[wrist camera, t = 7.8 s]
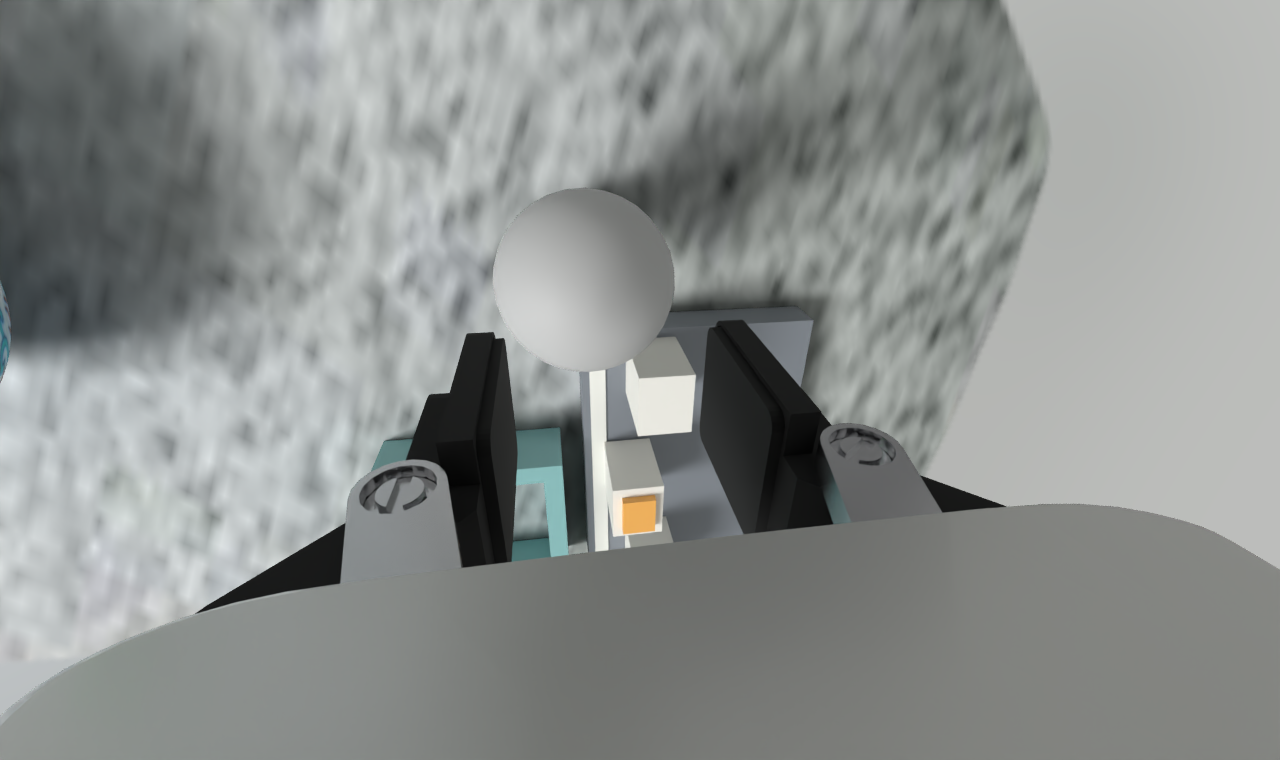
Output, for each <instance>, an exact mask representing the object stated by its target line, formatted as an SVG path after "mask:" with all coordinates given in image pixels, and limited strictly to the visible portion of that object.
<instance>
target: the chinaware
mask: <svg viewBox="0 0 1280 760" xmlns="http://www.w3.org/2000/svg"><path fill="white" fill-rule="evenodd" d="M10 343H11V322H10V313H9V307H8V303H7V299H6V295H5V292H4V289H3V286H2V283H1V281H0V383H1V380H2V378H3V375H4V372H5V369H6V366H7V362H8V357H9V352H10Z"/></svg>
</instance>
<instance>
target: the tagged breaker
mask: <svg viewBox="0 0 1280 760" xmlns="http://www.w3.org/2000/svg"><path fill="white" fill-rule="evenodd" d="M604 467H605V489H606V495H607V501H608V507H609V514H610V520H611V526H612V532H613V537H616V536H625V535H634V534H643V533H652V532H661V531H662V517H663V497H664V484H663V481H662V478H661V474H660V471H659V468H658V465H657V461H656V458H655V455H654V452H653V448H652V445H651V442H650V439H649V438H646V439H634V440H622V441H610V442H604Z"/></svg>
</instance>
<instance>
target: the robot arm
mask: <svg viewBox="0 0 1280 760" xmlns="http://www.w3.org/2000/svg"><path fill="white" fill-rule="evenodd" d="M700 437H701V440H702V443H703V445H704V447H705V450H706V452H707V454H708V456H709V458H710V461H711V463H712V465H713V467H714V470H715V472H716V474H717V476H718V479H719V481H720V483H721V485H722V487H723V490H724V492H725V494H726V496H727V499H728V501H729V503H730V505H731V507H732V510H733V512H734V514H735V516H736V519H737V521H738V523H739V525H740V527H741V530H742V532H743V534H742V535H734V536H725V537H716V538H707V539H699V540H690V541H682V542H673V543H664V544H656V545H647V546H639V547H630V548H622V549H613V550H605V551H596V552H588V553H580V554H571V555H563V556H555V557H547V558H539V559H530V560H522V561H514V562H512V546H513V529H514V511H515V494H516V476H517V459H518V449H517V437H516V429H515V420H514V412H513V403H512V395H511V387H510V378H509V370H508V362H507V353H506V345H505V340H504V338H500V339H495V335H494V333H493V332H488V333H468V334H467V335H466V338H465V341H464V345H463V348H462V352H461V355H460V359H459V362H458V366H457V369H456V373H455V376H454V380H453V383H452V387H451V390H450V393H444V394H431V395H429V396H428V398H427V400H426V403H425V406H424V409H423V412H422V415H421V418H420V420H419V423H418V426H417V429H416V432H415V435H414V437H413V440H412V443H411V446H410V449H409V452H408V455H407V457H406V460H404V461H397V462H394V463H391V464H387V465H384V466H382V467H380V468H378V469H376V470H373V471H371V472H370V473H368V474H367V475H366V476H364V477H363V478H362V479H360V480H359V481H358V482H357V483H356V485H355V486H354V487H353V488H352V489H351V491H350V494H349V497H348V502H347V513H346V523H345V524H343V525H341V526H340V527H338V528H336V529H335V530H333V531H331V532H330V533H328V534H326V535H324V536H323V537H321V538H319V539H318V540H316V541H314V542H313V543H311V544H309V545H308V546H306V547H304V548H303V549H301V550H299V551H298V552H296V553H294V554H293V555H291V556H289V557H288V558H286V559H284V560H283V561H281V562H279V563H277V564H276V565H274V566H272V567H271V568H269V569H267V570H266V571H264V572H262V573H261V574H259V575H257V576H256V577H254V578H252V579H251V580H249V581H247V582H246V583H244V584H242V585H241V586H239V587H237V588H236V589H234V590H232V591H230V592H229V593H227V594H225V595H224V596H222V597H220V598H219V599H217V600H215V601H214V602H212V603H210V604H209V605H207V606H206V607H204V608H203V609H201V610H200V611H198V612H197V613H196V614H194V615H190V616H187V617H183V618H180V619H178V620H175V621H172V622H170V623H167V624H165V625H162V626H159V627H157V628H154V629H151V630H149V631H146V632H144V633H141V634H138V635H136V636H133V637H130V638H128V639H125V640H123V641H121V642H119V643H116V644H114V645H112V646H110V647H108V648H105V649H103V650H101V651H99V652H97V653H95V654H93V655H91V656H89V657H87V658H85V659H83V660H81V661H79V662H77V663H76V664H73V665H71V666H70V667H68V668H66V669H64V670H62V671H61V672H59V673H58V674H56V675H54V676H53V677H51V678H50V679H48V680H47V681H45V682H43V683H42V684H40V685H39V686H37V687H35V688H34V689H33V690H31V691H30V692H29V693H27V694H26V695H25V696H24V697H22V698H21V699H20V700H18V701H17V702H16V703H15V704H13V705H12V706H11V707H9V708H8V709H7V710H6V711H4V712H3V713H2V714H1V715H0V760H1280V569H1278V568H1276V567H1275V566H1273V565H1271V564H1270V563H1268V562H1266V561H1264V560H1263V559H1261V558H1259V557H1258V556H1256V555H1254V554H1253V553H1251V552H1249V551H1247V550H1246V549H1244V548H1242V547H1240V546H1239V545H1237V544H1236V543H1234V542H1232V541H1230V540H1228V539H1226V538H1225V537H1223V536H1221V535H1219V534H1217V533H1215V532H1213V531H1210V530H1208V529H1206V528H1204V527H1201V526H1198V525H1195V524H1192V523H1188V522H1185V521H1182V520H1178V519H1174V518H1170V517H1166V516H1162V515H1158V514H1154V513H1149V512H1143V511H1138V510H1132V509H1126V508H1120V507H1111V506H1098V505H1086V504H1039V505H1025V506H1013V507H1006V506H1004V505H1001V504H998V503H995V502H992V501H990V500H987V499H984V498H982V497H979V496H976V495H973V494H970V493H968V492H965V491H962V490H959V489H956V488H954V487H951V486H948V485H945V484H943V483H940V482H937V481H934V480H932V479H929V478H926V477H923V476H920V475H919V473H918V472H917V470H916V468H915V467H914V465H913V463H912V462H911V460H910V458H909V457H908V455H907V453H906V452H905V450H904V448H903V447H902V446H901V445H900V444H899V443H898V441H897V440H895V439H894V438H893V437H891V436H890V435H888V434H887V433H884V432H882V431H880V430H878V429H876V428H873V427H869V426H866V425H861V424H853V423H841V424H836V425H831V424H830V423H829V422H828V420H827V419H826V418H825V417H824V416H823V415H822V413H821V411H820V410H819V409H818V407H817V406H816V405H815V404H814V403H813V401H812V400H811V399H810V398H809V397H808V396H807V394H806V393H805V392H804V391H803V390H802V389H801V387H800V386H799V385H798V384H797V383H796V381H795V380H794V379H793V378H792V377H791V376H790V374H789V373H788V372H787V371H786V370H785V368H784V367H783V366H782V365H781V364H780V363H779V361H778V360H777V359H776V358H775V357H774V356H773V354H772V353H771V352H770V351H769V350H768V348H767V347H766V346H765V345H764V344H763V343H762V341H761V340H760V339H759V338H758V337H757V336H756V334H755V333H754V332H753V331H752V330H751V328H750V327H749V326H748V325H747V324H746V323H745V321H743V320H724V321H718V322H717V323H716V326H715V327H711V328H709V330H708V334H707V345H706V357H705V368H704V380H703V391H702V403H701V414H700Z"/></svg>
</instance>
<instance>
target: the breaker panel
mask: <svg viewBox="0 0 1280 760" xmlns="http://www.w3.org/2000/svg"><path fill="white" fill-rule="evenodd" d="M724 320H743V321H745V323H746V324H747V325H748V326H749V327H750V328H751V330H752V331H753V332H754V333H755V334H756V336H757V337H758V338H759V339H760V340H761V341H762V343H763V344H764V345H765V346H766V347H767V348H768V350H769V351H770V352H771V353H772V354H773V356H774V357H775V358H776V359H777V360H778V361H779V363H780V364H781V365H782V366H783V367H784V368H785V370H786V371H787V372H788V373H789V374H790V376H791V377H792V378H793V379H794V380H795V381H796V383H797V384H798V385H799V386H800V387H801V384H802V378H803V373H804V368H805V363H806V357H807V352H808V347H809V342H810V336H811V331H812V326H813V321H814V320H813V319H811V318H810V317H809V316H808V315H807V314H806V313H805V312H803V311H802V310H801V309H800V308H799V307H798V306H789V307H768V308H747V309H726V310H705V311H683V312H669V314H668V316H667V319H666V321H665V324H664V326H663V327H662V329H661V330H660V332H659V334H658V335H657V337H656V338H655V339H654V340H653V341H652V343H651V344H650V345H649V346H648V347H647V348H646V349H645V350H644V351H642V352H641V353H640V354H638V355H637V356H636V357H634V358H633V359H631V360H629V361H627V362H625V363H623V364H621V365H619V366H616V367H613V368H609V369H606V370H601V371H593V372H580V394H581V417H582V439H583V462H584V484H585V506H586V529H587V546H588V552H596V551H605V550H613V549H622V548H630V547H639V546H647V545H656V544H664V543H673V542H682V541H690V540H699V539H707V538H716V537H725V536H734V535H742V534H743V532H742V530H741V527H740V525H739V523H738V521H737V519H736V516H735V514H734V512H733V510H732V507H731V505H730V503H729V501H728V499H727V496H726V494H725V492H724V490H723V487H722V485H721V483H720V481H719V479H718V476H717V474H716V472H715V470H714V467H713V465H712V463H711V461H710V458H709V456H708V454H707V452H706V450H705V447H704V445H703V443H702V440H701V437H700V414H701V403H702V391H703V380H704V368H705V357H706V345H707V334H708V330H709V328H711V327H715V326H716V323H717V322H718V321H724ZM646 438H649V439H650V442H651V445H652V448H653V452H654V455H655V458H656V461H657V465H658V468H659V471H660V474H661V478H662V481H663V484H664V497H663V517H662V531H661V532H652V533H643V534H634V535H625V536H616V537H613V532H612V526H611V520H610V514H609V507H608V501H607V495H606V489H605V467H604V442H610V441H622V440H634V439H646Z"/></svg>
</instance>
